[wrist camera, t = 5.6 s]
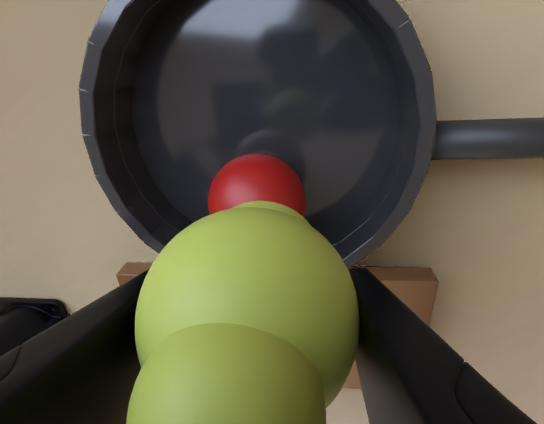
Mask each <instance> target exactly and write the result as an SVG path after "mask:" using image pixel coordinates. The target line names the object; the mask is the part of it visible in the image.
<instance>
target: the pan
mask: <svg viewBox="0 0 544 424" xmlns="http://www.w3.org/2000/svg"><path fill="white" fill-rule="evenodd" d="M430 70H431V68H430V65H429V63H428V61H427V58H426V56H425V53H424V51H423V48H422V46H421V44H420V41H419V39H418V36H417V34H416V31H415V29H414V27H413V24H412V22H411V20H410V19H409V16H408V15H407V14H406V12H405V11H404V10H403V9H402V8H401V6H400V5H399V4H398V3H397V1H396V0H108V2H107V4H106V6H105V7H104V9H103V11H102V13H101V15H100V17H99V19H98V21H97V23H96V25H95V27H94V29H93V31H92V33H91V35H90V37H89V38H88V43H87V48H86V53H85V58H84V63H83V68H82V74H81V79H80V84H79V88H80V89H79V97H80V112H81V126H82V134H83V139H84V142H85V145H86V148H87V151H88V155H89V158H90V161H91V164H92V167H93V170H94V174H95V175H96V176H95V177H96V179H97V180H98V182H99V184H100V186H101V187H102V189H103V191H104V192H105V194H106V196H107V198H108V199H109V201H110V203H111V204H112V206H113V208H114V210H115V211H116V212H117V213H118V215H119V216H120V217H121V218H122V219H123V220H124V221H125V222H126V223H127V224H128V226H129V227H130V228H131V229H132V230H133V231H134V232H135V233H136V234H137V235H138V237H139V238H140V239H141V240H142V241H144V243H145V244H147V245H148V246H149V247H151V248H152V249H154V250H155V251H156V252H158V253H159V254H160V252H161V251H162V250H163V248H164V247H165V246H166V245H167V244H168V243H169V242H170V241H171V240H172V239H173V238H174V237H175V236H176V235H177V234H178V233H180V232H181V231H182V230H184V229H185V228H187V227H188V226H189V225H191V224H192V223H194V222H195V221H197V220H199V219H201V218H203V217H205V216H208V215H209V211H208V194H209V189H210V186H211V183H212V181H213V179H214V177H215V176H216V174H217V173H218V171H219V170H220V169H221V168H222V167H223V166H224V165H225V164H227V163H228V162H229V161H231V160H233V159H235V158H237V157H239V156H242V155H245V154H251V153H263V154H270V155H273V156H275V157H278V158H279V159H281V160H282V161H284V162H286V163H287V164H288V165H289V166H290V167H291V168H292V169H293V170H294V171H295V172H296V174H297V175H298V176H299V178H300V180H301V182H302V184H303V187H304V191H305V196H306V208H305V214H304V218H305V219H306V220H307V221H308V223H309V224H310V225H311V227H313V228H314V229H316V230H317V231H318V232H319V233H320V234H321V235H322V236H323V237H325V238H326V239H327V240H328V241H329V243H330V244H331V245H332V246H333V247H334V248H335V250H336V251H337V252H338V253H339V255H340V257H341V258H342V260H343V262H344V264H345V265H346V267H347V269H349V268H350V267H352V266H354V265H355V264H356V263H358V262H359V261H360V260H362V259H363V258H364V257H366V256H367V255H368V254H370V253H371V252H372V251H374V250H375V249H377V248H378V247H379V246H381V245H382V243H384V242H385V241H386V239H387V238H388V237H389V236H390V235H391V233H392V232H393V231H394V230H395V229H396V227H397V226H398V225H399V224H400V223H401V221H402V220H403V219H404V218H405V217H406V215H407V214H408V213H409V211H410V209H411V207H412V205H413V203H414V201H415V199H416V197H417V194H418V192H419V190H420V188H421V186H422V184H423V182H424V179H425V177H426V175H427V173H428V171H427V170H429V165H430V159H431V153H432V148H433V142H434V136H435V130H436V122H437V117H436V108H435V98H434V88H433V79H432V71H430Z"/></svg>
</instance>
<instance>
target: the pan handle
mask: <svg viewBox="0 0 544 424" xmlns="http://www.w3.org/2000/svg"><path fill="white" fill-rule="evenodd" d="M517 158H544V118H516V119H485V120H454V121H437V122H436V130H435V136H434V142H433V148H432V153H431V159H430V160H464V159H517Z"/></svg>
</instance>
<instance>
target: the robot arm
mask: <svg viewBox="0 0 544 424" xmlns="http://www.w3.org/2000/svg"><path fill="white" fill-rule="evenodd" d="M148 271H149V269H148V270H146V271H145V272H143V273H141V274H140V275H138V276H136V277H134V278H133V279H131V280H129V281H128V282H126V283H124V284H123V285H121V286H119V287H117V288H116V289H114V290H112V291H111V292H109V293H107V294H106V295H104V296H102V297H101V298H99V299H97V300H95V301H94V302H92V303H90V304H89V305H87V306H85V307H84V308H82V309H80V310H78V311H77V312H75V313H73V314H72V315H70V316H67V314H66V312H65V309H64V307H63V305H62V303H61V302H60V301H58V300H55V299H26V298H0V424H126V420H127V412H128V406H129V401H130V397H131V394H132V390H133V387H134V384H135V381H136V379H137V377H138V374H139V372H140V370H141V366H140V363H139V359H138V354H137V349H136V343H135V314H136V307H137V302H138V298H139V294H140V290H141V288H142V285H143V282H144V279H145V277H146V275H147V273H148ZM349 273H350V275H351V278H352V281H353V283H354V287H355V290H356V293H357V300H358V307H359V316H360V334H359V342H358V348H357V352H356V356H355V361H356V366H357V370H358V374H359V379H360V383H361V387H362V392H363V396H364V401H365V405H366V409H367V414H368V418H369V422H370V424H537V423H536V422H534V421H533V420H532V419H531V418H530V417H528V416H527V415H526V414H525V413H524V412H522V411H521V410H520V409H519V408H518V407H516V406H515V405H514V404H513V403H512V402H510V401H509V400H508V399H507V398H506V397H505V396H503V395H502V394H501V393H500V392H499V391H498V390H497V389H496V388H495V387H493V386H492V385H491V384H490V383H489V382H488V381H487V380H486V379H485V378H483V377H482V376H481V375H480V374H479V373H478V372H477V371H476V370H475V369H474V368H473V367H472V366H471V365H470V364H468V363H467V362H464V359H463V358H462V357H461V356H460V355H459V354H458V353H457V352H455V351H454V350H453V349H452V348H451V347H450V346H449V345H448V344H447V343H446V342H445V341H444V340H443V339H442V338H441V337H439V336H438V335H437V334H436V333H435V332H434V331H433V330H432V329H431V328H430V327H429V326H428V325H427V324H426V323H425V322H423V321H422V320H421V319H420V318H419V317H418V316H417V315H416V314H415V313H414V312H413V311H412V310H411V309H410V308H409V307H408V306H406V305H405V304H404V303H403V302H402V301H401V300H400V299H399V298H398V297H397V296H396V295H395V294H394V293H393V292H392V291H390V290H389V289H388V288H387V287H386V286H385V285H384V284H383V283H382V282H381V281H380V280H379V279H378V278H377V277H376V276H374V275H373V274H372V273H371V272H370V271H369V270H368V269H367V268H351V269H350V272H349Z"/></svg>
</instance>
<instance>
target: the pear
mask: <svg viewBox="0 0 544 424" xmlns="http://www.w3.org/2000/svg"><path fill="white" fill-rule="evenodd" d="M359 334H360V316H359V307H358V300H357V293H356V290H355V287H354V283H353V281H352V278H351V275H350V273H349V271H348V269H347V267H346V265H345V264H344V262H343V260H342V258H341V257H340V255H339V253H338V252H337V251H336V250H335V248H334V247H333V246H332V245H331V244H330V243H329V241H328V240H327V239H326V238H325V237H323V236H322V235H321V234H320V233H319V232H318V231H317V230H316V229H314V228H313V227H311V225H310V224H309V223H308V221H307V220H306V219H305V218H304V217H303V216H302V215H300V214H299V213H298V212H296V211H295V210H293V209H291V208H289V207H287V206H285V205H282V204H279V203H276V202H270V201H251V202H246V203H242V204H239V205H237V206H235V207H233V208H231V209H227V210H222V211H219V212H216V213H213V214H211V215H208V216H205V217H203V218H201V219H199V220H197V221H195V222H194V223H192V224H191V225H189V226H188V227H187V228H185V229H184V230H182V231H181V232H180V233H178V234H177V235H176V236H175V237H174V238H173V239H172V240H171V241H170V242H169V243H168V244H167V245H166V246H165V247H164V248H163V250H162V251H161V252H160V254H159V255H158V256H157V258H156V259H155V261H154V262H153V264H152V266H151V267H150V269H149V271H148V273H147V275H146V277H145V279H144V282H143V285H142V288H141V290H140V294H139V298H138V302H137V307H136V314H135V343H136V349H137V354H138V359H139V363H140V366H141V370H140V372H139V374H138V377H137V379H136V381H135V384H134V387H133V390H132V394H131V397H130V401H129V406H128V412H127V420H126V424H326V408H327V407H328V406H329V405H330V404H331V402H332V401H333V400H334V399H335V397H336V396H337V394H338V393H339V391H340V390H341V388H342V387H343V385H344V383H345V382H346V379H347V377H348V375H349V373H350V371H351V368H352V365H353V363H354V360H355V356H356V352H357V348H358V342H359Z"/></svg>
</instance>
